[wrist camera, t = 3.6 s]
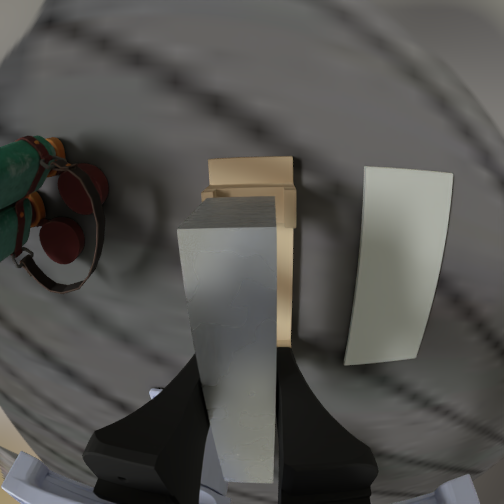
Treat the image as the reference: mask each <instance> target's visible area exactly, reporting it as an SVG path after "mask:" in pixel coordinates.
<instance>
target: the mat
mask: <svg viewBox="0 0 504 504" xmlns="http://www.w3.org/2000/svg"><path fill="white" fill-rule="evenodd" d="M452 183H453V174H452V173H447V172H437V171H427V170H416V169H404V168H389V167H372V166H364V188H363V208H362V223H361V236H360V248H359V258H358V268H357V277H356V285H355V293H354V301H353V308H352V315H351V321H350V328H349V334H348V340H347V346H346V351H345V357H344V365H357V364H368V363H379V362H388V361H396V360H404V359H412V358H416V355H417V352H418V349H419V346H420V343H421V340H422V337H423V334H424V330H425V327H426V324H427V320H428V317H429V313H430V309H431V305H432V302H433V298H434V294H435V289H436V285H437V281H438V276H439V272H440V267H441V262H442V257H443V251H444V246H445V240H446V233H447V227H448V220H449V212H450V204H451V194H452Z"/></svg>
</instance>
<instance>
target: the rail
mask: <svg viewBox="0 0 504 504" xmlns="http://www.w3.org/2000/svg"><path fill="white" fill-rule="evenodd" d="M177 235H178V243H179V251H180V259H181V267H182V274H183V281H184V288H185V295H186V301H187V307H188V314H189V320H190V326H191V332H192V337H193V343H194V348H195V354H196V359H197V364H198V369H199V374H200V379H201V384H202V389H203V394H204V399H205V403H206V408H207V412H208V417H209V421H210V425H211V429H212V434H213V438H214V442H215V446H216V450H217V454H218V458H219V462H220V465H221V469H222V473H223V477H224V480H225V481H229V482H247V483H273V468H274V440H275V405H276V352H277V226H276V208H275V196H252V197H219V198H206V199H205V200H204V201H203V202H202V203H201V204H200V205H199V206H198V207H197V209H196V210H195V211H194V212H193V213H192V214H191V215H190V216H189V217H188V218H187V219H186V220H185V221H184V222H183V223H182V224H181V225H180V226H179V227H178V229H177Z"/></svg>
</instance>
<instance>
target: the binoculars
mask: <svg viewBox="0 0 504 504" xmlns="http://www.w3.org/2000/svg"><path fill="white" fill-rule="evenodd" d="M58 174H61V175H60V177H59V178H58V189H59V192H60V195H61V197H62V199H63V200H64V202H65V203H66V205H67V206H68V207H69V208H70V209H72V210H73V211H74V212H76V213H79V214H82V215H88V214H91V213H93V212H94V216H95V221H96V225H97V226H96V248H95V254H94V259H93V263H92V266H91V269H90V272H89V275H88V276H87V278H86V279H85V280H84V281H80V282H77V283H74V284H70V285H64V284H59V283H56V282H54V281H53V280H51V279H50V278H49V277H47V276H46V275H45V274H44V273H43V272H42V271H41V270H40V268H39V267H38V266H37V265H36V264H35V262H34V260H33V259H32V257H33V255H34V254H33V252H32V251H30V250H29V249H27V248H25V247H22V246H23V245H24V244H25V243H26V242H27V240H28V238H29V232H30V227H35V226H37V227H38V226H42V228H41V229H40V233H39V236H40V242H41V245H42V247H43V249H44V251H45V252H46V254H47V255H48V256H49V257H50V258H51V259H52V260H53V261H55V262H57V263H59V264H69V263H71V262H73V261H74V260H75V259H76V258H77V257H78V255H79V254H80V253H81V252H82V250H83V248H84V244H85V238H84V234H83V231H82V229H81V227H80V226H79V225H78V223H76V222H75V221H74V220H72V219H70V218H66V217H56V218H54V219H52V220H50V221H49V220H48V219H46V218H45V207H44V204H43V201H42V199H41V197H40V195H39V194H38V193H37V192H36V191H37V190H38V189H39V188H40V187H41V186H42V185H43V183H44V181H45V179H46V177H52V176H55V175H58ZM108 191H109V187H108V182H107V179H106V177H105V175H104V174H103V172H102V171H101V170H100V169H99V168H97V167H96V166H94V165H91V164H87V163H80V164H78V163H76V164H69V163H67V160H66V159H65V151H64V147H63V145H62V143H61V141H60V140H59V139H58V138H55V137H52V138H47V139H44V138H43V137H41V136H33V137H32V136H25V137H22V138H20V139H18V140H16V141H15V142H13V143H10V144H8V145H5V146H2V147H0V262H1V261H2V260H4V259H5V258H6V257H8V256H9V255H12V261H13V262H14V264H15V266H16V267H17V268H21V267H23V268H24V269H25V270H26V271H27V272H28V273H29V275H30V276H33V278H34V279H35V280H36V281H37V282H38V283H39V284H40V285H42V286H43V287H44V288H46V289H47V290H49V291H50V292H55V293H60V294H64V293H68V292H71V291H75V290H78V289H80V288H81V286H82V285H83V284H84V283H85V282H86V280H87V279H88V278H89V277H90V275H91V274H92V273H93V272H94V270H95V269H96V267H97V264H98V261H99V258H100V256H101V252H102V247H103V242H104V231H105V217H104V213H103V208H102V204H103V202H104V201H105V200H106V198H107V196H108ZM22 251H26V252H28V253H29V254H31V255H29V254H28V255H27V256H25V257H24V258H23V259H22V260H21V261H20V265H18V264H17V262H16V260H15V258H17V257H18V256H19V255H20V254H21V253H22Z"/></svg>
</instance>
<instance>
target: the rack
mask: <svg viewBox="0 0 504 504" xmlns="http://www.w3.org/2000/svg"><path fill="white" fill-rule="evenodd" d="M208 165H209V181H210V185H209V186H208V187H207V188H206V189H205V190H204V191H203V192H201V195H202V202H203V201H204V200H205V199H206V198H219V197H252V196H275V208H276V226H277V347H290V348H291V315H292V279H293V228H296V188H295V186H294V184H293V157H292V156H267V157H236V158H217V159H209V160H208Z"/></svg>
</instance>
